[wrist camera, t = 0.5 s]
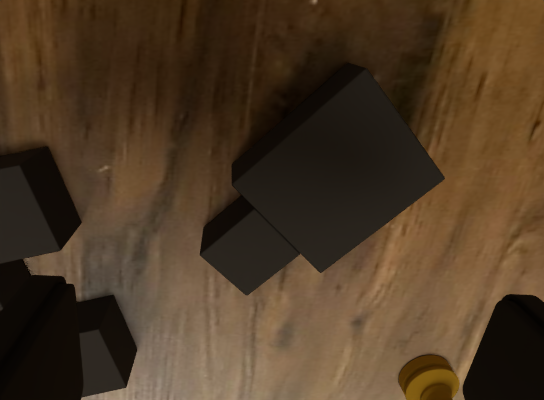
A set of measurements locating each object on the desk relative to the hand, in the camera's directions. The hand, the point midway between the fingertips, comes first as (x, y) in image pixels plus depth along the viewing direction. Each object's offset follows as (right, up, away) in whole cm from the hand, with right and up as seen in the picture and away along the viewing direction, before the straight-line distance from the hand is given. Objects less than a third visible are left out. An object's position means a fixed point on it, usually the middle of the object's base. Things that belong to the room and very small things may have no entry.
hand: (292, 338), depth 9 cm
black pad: (+1, +4, +13) cm, 14 cm away
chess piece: (+11, -10, +21) cm, 25 cm away
